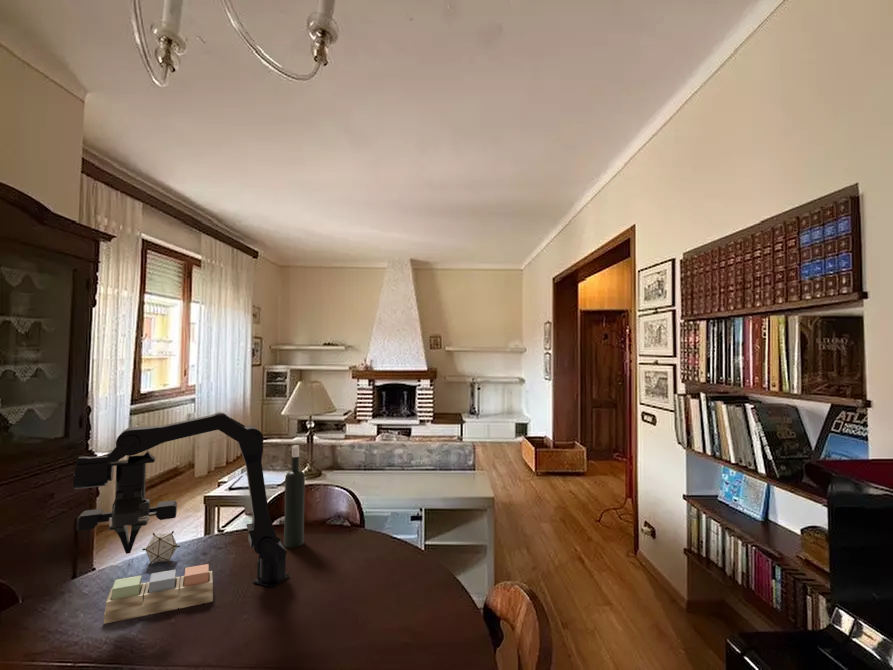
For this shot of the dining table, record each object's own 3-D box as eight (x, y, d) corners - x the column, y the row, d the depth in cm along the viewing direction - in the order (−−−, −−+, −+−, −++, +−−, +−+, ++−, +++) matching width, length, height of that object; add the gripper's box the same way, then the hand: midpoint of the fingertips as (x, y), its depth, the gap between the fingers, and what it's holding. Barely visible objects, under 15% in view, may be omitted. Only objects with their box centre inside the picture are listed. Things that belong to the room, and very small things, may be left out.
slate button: (175, 582, 114) (175, 569, 115) (174, 591, 110) (174, 578, 110) (151, 586, 112) (151, 573, 112) (148, 596, 108) (149, 582, 108)
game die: (162, 578, 131) (157, 557, 126) (138, 564, 133) (132, 543, 128) (188, 551, 139) (185, 531, 133) (165, 538, 140) (160, 518, 135)
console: (212, 585, 120) (212, 568, 120) (212, 601, 112) (213, 584, 112) (111, 604, 110) (111, 586, 110) (103, 623, 102) (104, 604, 102)
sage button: (141, 588, 111) (141, 575, 111) (138, 598, 107) (138, 584, 107) (115, 593, 109) (115, 579, 109) (111, 603, 105) (112, 589, 105)
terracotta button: (208, 576, 118) (208, 563, 118) (208, 584, 113) (208, 572, 113) (185, 580, 115) (185, 567, 115) (184, 589, 111) (184, 576, 111)
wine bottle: (284, 541, 148) (286, 444, 150) (304, 540, 150) (305, 443, 151) (283, 548, 143) (285, 447, 144) (303, 547, 144) (304, 446, 145)
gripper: (71, 497, 98) (67, 575, 97) (175, 487, 106) (173, 558, 105) (83, 484, 108) (80, 555, 107) (178, 475, 116) (176, 541, 115)
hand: (128, 552), depth 108 cm, fingers closed
